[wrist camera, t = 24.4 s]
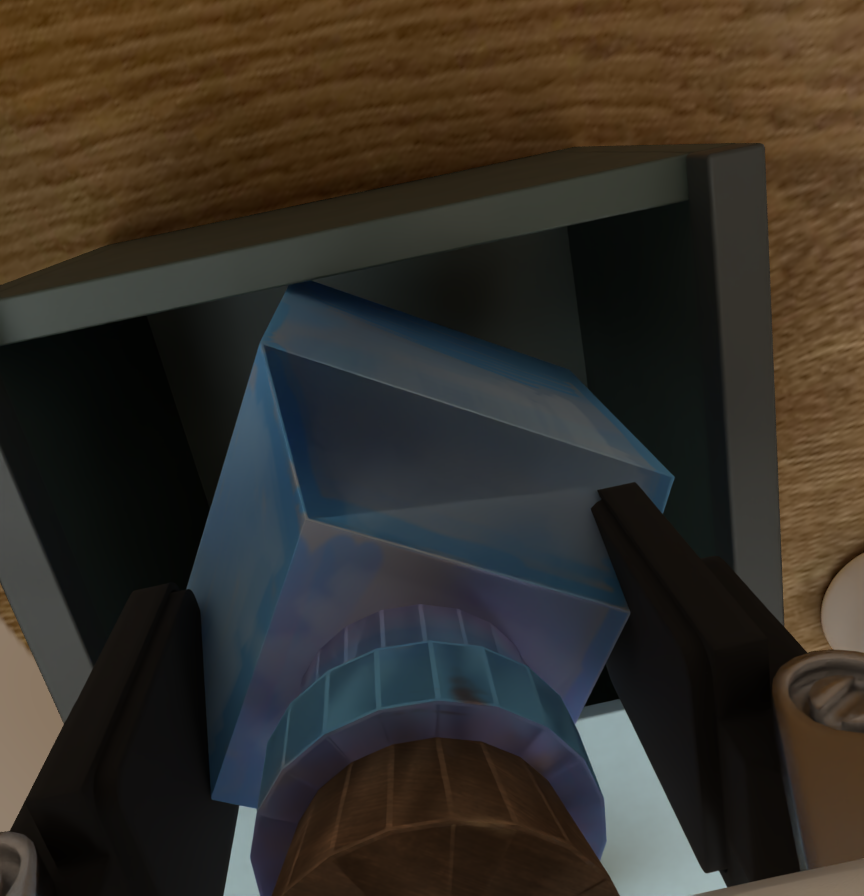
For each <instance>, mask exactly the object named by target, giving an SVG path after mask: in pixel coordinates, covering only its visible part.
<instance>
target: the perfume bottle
mask: <svg viewBox="0 0 864 896" xmlns="http://www.w3.org/2000/svg"><path fill="white" fill-rule="evenodd" d="M674 478H675V477H674V476H673V475H672V474H671V473H670V472H669V471H668V470H667V469H666V468H665V467H664V466H663V465H662V464H661V463H660V462H659V461H658V460H657V458H656V457H655V456H654V455H653V454H652V453H651V452H650V451H649V450H648V449H647V448H646V447H645V446H644V445H643V444H642V443H641V442H640V441H639V440H638V439H637V438H636V437H635V436H634V435H633V434H632V433H631V432H630V431H629V430H628V429H627V428H626V427H625V426H624V425H623V424H622V423H621V422H620V421H619V420H618V419H617V418H616V417H615V416H614V415H613V414H612V413H611V412H610V411H609V410H608V409H607V408H606V407H605V406H604V405H603V404H602V403H601V402H600V401H599V400H598V399H597V398H596V397H595V396H594V395H593V393H592V392H591V391H590V390H589V389H588V388H587V387H586V386H585V385H584V384H583V383H582V382H581V381H580V380H579V379H578V378H577V377H576V376H575V375H574V374H573V373H572V372H571V371H570V370H569V369H566V368H563V367H560V366H557V365H554V364H551V363H548V362H545V361H543V360H540V359H537V358H534V357H531V356H528V355H525V354H522V353H519V352H517V351H514V350H511V349H508V348H505V347H502V346H499V345H496V344H493V343H490V342H488V341H485V340H482V339H479V338H476V337H473V336H470V335H467V334H464V333H462V332H459V331H456V330H453V329H450V328H447V327H444V326H441V325H438V324H435V323H433V322H430V321H427V320H424V319H421V318H418V317H415V316H412V315H409V314H407V313H404V312H401V311H398V310H395V309H392V308H389V307H386V306H383V305H381V304H378V303H375V302H372V301H369V300H366V299H363V298H360V297H357V296H354V295H352V294H349V293H346V292H343V291H340V290H337V289H334V288H331V287H328V286H326V285H323V284H320V283H317V282H314V281H306V282H301V283H297V284H292V285H289V286H288V288H287V290H286V292H285V294H284V296H283V298H282V300H281V302H280V304H279V306H278V307H277V309H276V311H275V313H274V315H273V317H272V319H271V321H270V323H269V325H268V327H267V329H266V331H265V333H264V335H263V337H262V339H261V341H260V344H259V347H258V350H257V354H256V357H255V361H254V364H253V367H252V371H251V374H250V377H249V381H248V384H247V387H246V391H245V394H244V397H243V401H242V404H241V408H240V411H239V414H238V418H237V421H236V424H235V428H234V431H233V434H232V438H231V441H230V444H229V448H228V451H227V455H226V458H225V461H224V465H223V468H222V471H221V475H220V478H219V481H218V485H217V488H216V491H215V495H214V498H213V502H212V505H211V508H210V512H209V515H208V518H207V522H206V525H205V528H204V532H203V535H202V538H201V542H200V545H199V549H198V552H197V555H196V559H195V562H194V565H193V569H192V572H191V575H190V579H189V582H188V586H187V589H190V590H192V592H193V593H194V595H195V598H196V600H197V603H198V606H199V609H200V613H201V631H202V648H203V666H204V683H205V701H206V718H207V736H208V753H209V771H210V788H211V799H212V800H216V801H221V802H226V803H231V804H235V805H240V806H245V807H250V808H255V809H257V813H256V820H255V826H254V833H253V839H252V846H251V853H250V860H251V864H252V868H253V871H254V875H255V879H256V883H257V886H258V890H259V894H260V896H620V895H619V893H618V891H617V889H616V887H615V885H614V883H613V881H612V880H611V878H610V876H609V874H608V873H607V871H606V870H605V868H604V867H603V865H602V864H601V862H600V860H601V857H602V854H603V851H604V848H605V845H606V842H607V837H606V820H605V802H604V797H603V794H602V792H601V789H600V786H599V784H598V781H597V779H596V776H595V773H594V771H593V768H592V766H591V763H590V760H589V758H588V755H587V753H586V750H585V747H584V745H583V742H582V740H581V737H580V734H579V732H578V730H577V728H576V726H575V724H576V722H577V720H578V718H579V716H580V714H581V712H582V710H583V708H584V706H585V704H586V702H587V700H588V698H589V696H590V694H591V692H592V690H593V688H594V686H595V684H596V682H597V680H598V678H599V676H600V674H601V672H602V670H603V668H604V666H605V664H606V662H607V660H608V658H609V656H610V654H611V652H612V650H613V648H614V646H615V644H616V642H617V640H618V638H619V636H620V634H621V632H622V630H623V628H624V626H625V624H626V622H627V620H628V618H629V616H630V610H629V607H628V605H627V602H626V600H625V597H624V594H623V592H622V589H621V587H620V584H619V581H618V579H617V576H616V574H615V571H614V568H613V566H612V563H611V560H610V558H609V555H608V553H607V550H606V547H605V545H604V542H603V540H602V537H601V534H600V532H599V529H598V527H597V524H596V521H595V519H594V516H593V514H592V511H591V508H592V507H593V506H594V504H595V503H596V502H598V501H600V500H601V498H600V496H599V494H598V491H597V490H600V489H604V488H609V487H613V486H618V485H623V484H627V483H632V482H635V483H637V484H638V485H639V486H640V488H641V489H642V490H643V491H644V492H645V494H646V495H647V496H648V497H649V498H650V499H651V501H652V502H653V503H654V504H655V505H656V507H657V508H658V509H659V510H660V511H661V513H662V514H663V512H664V509H665V506H666V503H667V500H668V497H669V494H670V490H671V487H672V484H673V481H674Z"/></svg>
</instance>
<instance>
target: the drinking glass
mask: <svg viewBox="0 0 864 896" xmlns="http://www.w3.org/2000/svg"><path fill="white" fill-rule="evenodd" d="M821 624H822V629H823V632H824V635H825V637H826V640H827V641H828V643H829V645H830V646H831V647H832V649H835V650H848V651H858V652H862V653H864V553H862V554H860V555H859V556H857V557H855V558H854V559H853V560H851V561H850V562H849V563H847V564H846V565H845V566H844V567H843V568H842V569H841V570H840V571H839V572H838V573H837V575H836V576H835V577H834V579H833V580H832V582H831V583H830V585H829V587H828V589H827V591H826V593H825V596H824V598H823V602H822V607H821Z"/></svg>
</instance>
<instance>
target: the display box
mask: <svg viewBox="0 0 864 896" xmlns="http://www.w3.org/2000/svg"><path fill="white" fill-rule="evenodd" d="M306 281H314V282H317V283H320V284H323V285H326V286H328V287H331V288H334V289H337V290H340V291H343V292H346V293H349V294H352V295H354V296H357V297H360V298H363V299H366V300H369V301H372V302H375V303H378V304H381V305H383V306H386V307H389V308H392V309H395V310H398V311H401V312H404V313H407V314H409V315H412V316H415V317H418V318H421V319H424V320H427V321H430V322H433V323H435V324H438V325H441V326H444V327H447V328H450V329H453V330H456V331H459V332H462V333H464V334H467V335H470V336H473V337H476V338H479V339H482V340H485V341H488V342H490V343H493V344H496V345H499V346H502V347H505V348H508V349H511V350H514V351H517V352H519V353H522V354H525V355H528V356H531V357H534V358H537V359H540V360H543V361H545V362H548V363H551V364H554V365H557V366H560V367H563V368H566V369H569V370H570V371H571V372H572V373H573V374H574V375H575V376H576V377H577V378H578V379H579V380H580V381H581V382H582V383H583V384H584V385H585V386H586V387H587V388H588V389H589V390H590V391H591V392H592V393H593V395H594V396H595V397H596V398H597V399H598V400H599V401H600V402H601V403H602V404H603V405H604V406H605V407H606V408H607V409H608V410H609V411H610V412H611V413H612V414H613V415H614V416H615V417H616V418H617V419H618V420H619V421H620V422H621V423H622V424H623V425H624V426H625V427H626V428H627V429H628V430H629V431H630V432H631V433H632V434H633V435H634V436H635V437H636V438H637V439H638V440H639V441H640V442H641V443H642V444H643V445H644V446H645V447H646V448H647V449H648V450H649V451H650V452H651V453H652V454H653V455H654V456H655V457H656V458H657V460H658V461H659V462H660V463H661V464H662V465H663V466H664V467H665V468H666V469H667V470H668V471H669V472H670V473H671V474H672V475H673V476H674V477H675V478H674V481H673V484H672V487H671V490H670V494H669V497H668V500H667V503H666V506H665V509H664V512H663V515H664V516H665V517H666V518H667V520H668V521H669V522H670V523H671V524H672V526H673V527H674V528H675V529H676V530H677V531H678V533H679V534H680V535H681V536H682V537H683V539H684V540H685V541H686V542H687V543H688V545H689V546H690V547H691V548H692V549H693V550H694V552H695V553H696V554H697V555H698V556H699V558H705V557H710V556H719V557H721V558H722V559H723V560H724V561H725V562H726V563H727V564H728V565H729V566H730V567H731V568H732V570H733V571H734V572H735V573H736V574H737V575H738V576H739V577H740V578H741V580H742V581H743V582H744V583H745V584H746V585H747V586H748V587H749V588H750V590H751V591H752V592H753V593H754V594H755V595H756V596H757V597H758V598H759V600H760V601H761V602H762V603H763V604H764V605H765V606H766V607H767V608H768V610H769V611H770V612H771V613H772V614H773V615H774V616H775V617H776V619H777V620H778V621H779V622H780V623H781V624H782V625H783V626H784V607H783V583H782V558H781V534H780V509H779V485H778V460H777V436H776V411H775V387H774V363H773V338H772V314H771V289H770V265H769V240H768V216H767V191H766V167H765V147H764V145H763V144H761V143H737V144H736V143H721V144H677V145H632V146H588V147H572V148H567V149H563V150H558V151H553V152H548V153H544V154H539V155H534V156H529V157H525V158H520V159H515V160H510V161H506V162H501V163H496V164H491V165H487V166H482V167H477V168H472V169H468V170H463V171H458V172H453V173H449V174H444V175H439V176H434V177H430V178H425V179H420V180H415V181H411V182H406V183H401V184H396V185H392V186H387V187H382V188H377V189H373V190H368V191H363V192H358V193H354V194H349V195H344V196H339V197H335V198H330V199H325V200H320V201H316V202H311V203H306V204H301V205H297V206H292V207H287V208H282V209H278V210H273V211H268V212H263V213H259V214H254V215H249V216H244V217H240V218H235V219H230V220H225V221H221V222H216V223H211V224H206V225H202V226H197V227H192V228H187V229H183V230H178V231H173V232H168V233H164V234H159V235H154V236H149V237H145V238H140V239H135V240H131V241H126V242H121V243H116V244H111V245H107V246H104V247H101V248H98V249H96V250H93V251H90V252H88V253H85V254H82V255H80V256H77V257H74V258H72V259H69V260H66V261H64V262H61V263H58V264H56V265H53V266H50V267H48V268H45V269H42V270H40V271H37V272H34V273H32V274H29V275H26V276H24V277H21V278H18V279H16V280H13V281H11V282H8V283H5V284H3V285H0V583H1V585H2V588H3V590H4V592H5V594H6V596H7V599H8V601H9V603H10V605H11V608H12V610H13V612H14V614H15V616H16V619H17V621H18V623H19V625H20V628H21V630H22V632H23V634H24V636H25V639H26V641H27V643H28V645H29V647H30V650H31V652H32V654H33V656H34V659H35V661H36V663H37V665H38V667H39V670H40V672H41V674H42V676H43V679H44V681H45V683H46V685H47V687H48V690H49V692H50V694H51V696H52V698H53V701H54V703H55V705H56V707H57V710H58V712H59V714H60V716H61V718H62V721H63V723H65V721H66V720H67V718H68V716H69V714H70V712H71V710H72V708H73V706H74V704H75V702H76V701H77V699H78V697H79V695H80V693H81V691H82V689H83V687H84V685H85V683H86V681H87V679H88V677H89V675H90V673H91V671H92V669H93V667H94V665H95V663H96V661H97V660H98V658H99V656H100V654H101V652H102V650H103V648H104V646H105V644H106V642H107V640H108V638H109V636H110V634H111V632H112V630H113V628H114V626H115V624H116V622H117V620H118V618H119V616H120V614H121V612H122V610H123V608H124V606H125V604H126V602H127V600H128V598H129V596H130V594H131V593H132V592H133V591H135V590H139V589H144V588H149V587H153V586H158V585H162V584H167V583H172V582H174V583H175V584H177V585H178V587H179V588H180V590H181V591H182V590H186V589H187V586H188V582H189V579H190V575H191V572H192V569H193V565H194V562H195V559H196V555H197V552H198V549H199V545H200V542H201V538H202V535H203V532H204V528H205V525H206V522H207V518H208V515H209V512H210V508H211V505H212V502H213V498H214V495H215V491H216V488H217V485H218V481H219V478H220V475H221V471H222V468H223V465H224V461H225V458H226V455H227V451H228V448H229V444H230V441H231V438H232V434H233V431H234V428H235V424H236V421H237V418H238V414H239V411H240V408H241V404H242V401H243V397H244V394H245V391H246V387H247V384H248V381H249V377H250V374H251V371H252V367H253V364H254V361H255V357H256V354H257V350H258V347H259V344H260V341H261V339H262V337H263V335H264V333H265V331H266V329H267V327H268V325H269V323H270V321H271V319H272V317H273V315H274V313H275V311H276V309H277V307H278V306H279V304H280V302H281V300H282V298H283V296H284V294H285V292H286V290H287V288H288V286H289V285H292V284H297V283H301V282H306ZM617 699H620V698H619V696H618V694H617V692H616V690H615V688H614V686H613V684H612V682H611V679H610V676H609V673H608V670H607V666H606V664H605V666H604V668H603V670H602V672H601V674H600V676H599V678H598V680H597V682H596V684H595V686H594V688H593V690H592V692H591V694H590V696H589V698H588V700H587V702H586V704H585V706H590V705H594V704H599V703H603V702H608V701H612V700H617ZM585 706H584V707H585Z"/></svg>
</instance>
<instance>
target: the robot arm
mask: <svg viewBox="0 0 864 896" xmlns="http://www.w3.org/2000/svg"><path fill="white" fill-rule="evenodd" d="M597 491H598V494H599V496H600V498H601V500H600V501H598V502H596V503H595V504H594V506H593V507H592V508H591V511H592V514H593V516H594V519H595V521H596V524H597V527H598V529H599V532H600V534H601V537H602V540H603V542H604V545H605V547H606V550H607V553H608V555H609V558H610V560H611V563H612V566H613V568H614V571H615V574H616V576H617V579H618V581H619V584H620V587H621V589H622V592H623V594H624V597H625V600H626V602H627V605H628V607H629V610H630V616H629V618H628V620H627V622H626V624H625V626H624V628H623V630H622V632H621V634H620V636H619V638H618V640H617V642H616V644H615V646H614V648H613V650H612V652H611V654H610V656H609V658H608V660H607V662H606V666H607V670H608V673H609V676H610V679H611V682H612V684H613V686H614V688H615V690H616V692H617V694H618V696H619V698H620V701H621V703H622V705H623V707H624V709H625V711H626V713H627V715H628V717H629V719H630V721H631V723H632V725H633V728H634V730H635V732H636V734H637V736H638V738H639V740H640V742H641V744H642V746H643V748H644V750H645V753H646V755H647V757H648V759H649V761H650V763H651V765H652V767H653V769H654V771H655V773H656V775H657V777H658V780H659V782H660V784H661V786H662V788H663V790H664V792H665V794H666V796H667V798H668V800H669V802H670V805H671V807H672V809H673V811H674V813H675V815H676V817H677V819H678V821H679V823H680V825H681V827H682V830H683V832H684V834H685V836H686V838H687V840H688V842H689V844H690V846H691V848H692V850H693V852H694V854H695V857H696V859H697V861H698V863H699V865H700V867H701V868H702V870H703V871H704V872H705V873H711V872H716V871H719V872H720V874H721V876H722V878H723V880H724V882H725V884H726V886H727V888H722V889H718V890H713V891H708V892H704V893H699V894H695V895H690V896H864V653H862V652H858V651H848V650H835V649H833V650H823V651H813V652H809V653H807V652H806V651H805V650H804V649H803V647H802V646H801V645H800V644H799V643H798V642H797V641H796V640H795V639H794V637H793V636H792V635H791V634H790V633H789V632H788V631H787V630H786V629H785V627H784V626H783V625H782V624H781V623H780V622H779V621H778V620H777V619H776V617H775V616H774V615H773V614H772V613H771V612H770V611H769V610H768V608H767V607H766V606H765V605H764V604H763V603H762V602H761V601H760V600H759V598H758V597H757V596H756V595H755V594H754V593H753V592H752V591H751V590H750V588H749V587H748V586H747V585H746V584H745V583H744V582H743V581H742V580H741V578H740V577H739V576H738V575H737V574H736V573H735V572H734V571H733V570H732V568H731V567H730V566H729V565H728V564H727V563H726V562H725V561H724V560H723V559H722V558H721V557H719V556H710V557H705V558H699V556H698V555H697V554H696V553H695V552H694V550H693V549H692V548H691V547H690V546H689V545H688V543H687V542H686V541H685V540H684V539H683V537H682V536H681V535H680V534H679V533H678V531H677V530H676V529H675V528H674V527H673V526H672V524H671V523H670V522H669V521H668V520H667V518H666V517H665V516H664V515H663V514H662V513H661V511H660V510H659V509H658V508H657V507H656V505H655V504H654V503H653V502H652V501H651V499H650V498H649V497H648V496H647V495H646V494H645V492H644V491H643V490H642V489H641V488H640V486H639V485H638V484H637V483H635V482H632V483H627V484H623V485H618V486H613V487H609V488H604V489H600V490H597ZM238 811H239V805H235V804H231V803H226V802H221V801H216V800H212V799H211V788H210V771H209V753H208V736H207V718H206V701H205V683H204V666H203V648H202V631H201V613H200V609H199V606H198V603H197V600H196V598H195V595H194V593H193V592H192V590H190V589H186V590H182V591H181V590H180V588H179V587H178V585H177V584H175V583H174V582H172V583H167V584H162V585H158V586H153V587H149V588H144V589H139V590H135V591H133V592H132V593H131V594H130V596H129V598H128V600H127V602H126V604H125V606H124V608H123V610H122V612H121V614H120V616H119V618H118V620H117V622H116V624H115V626H114V628H113V630H112V632H111V634H110V636H109V638H108V640H107V642H106V644H105V646H104V648H103V650H102V652H101V654H100V656H99V658H98V660H97V661H96V663H95V665H94V667H93V669H92V671H91V673H90V675H89V677H88V679H87V681H86V683H85V685H84V687H83V689H82V691H81V693H80V695H79V697H78V699H77V701H76V702H75V704H74V706H73V708H72V710H71V712H70V714H69V716H68V718H67V720H66V721H65V723H64V726H63V727H62V730H61V732H60V733H59V736H58V737H57V739H56V741H55V743H54V745H53V747H52V749H51V751H50V753H49V755H48V757H47V759H46V761H45V763H44V765H43V767H42V769H41V771H40V773H39V775H38V777H37V779H36V781H35V783H34V785H33V786H32V789H31V790H30V793H29V795H28V796H27V798H26V800H25V802H24V804H23V806H22V808H21V810H20V812H19V814H18V816H17V818H16V820H15V822H14V824H13V826H12V828H11V830H10V831H8V832H0V896H224V890H225V884H226V879H227V873H228V867H229V862H230V856H231V850H232V845H233V839H234V834H235V828H236V822H237V817H238Z"/></svg>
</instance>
